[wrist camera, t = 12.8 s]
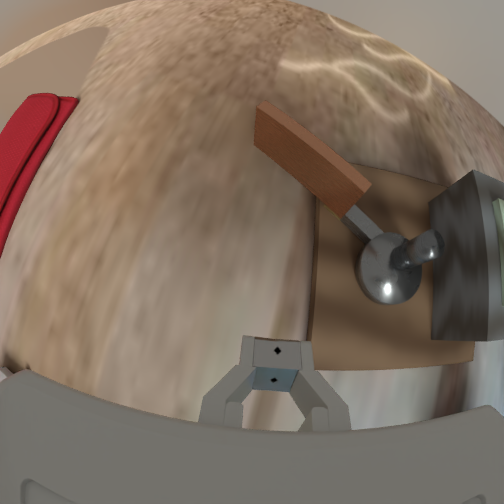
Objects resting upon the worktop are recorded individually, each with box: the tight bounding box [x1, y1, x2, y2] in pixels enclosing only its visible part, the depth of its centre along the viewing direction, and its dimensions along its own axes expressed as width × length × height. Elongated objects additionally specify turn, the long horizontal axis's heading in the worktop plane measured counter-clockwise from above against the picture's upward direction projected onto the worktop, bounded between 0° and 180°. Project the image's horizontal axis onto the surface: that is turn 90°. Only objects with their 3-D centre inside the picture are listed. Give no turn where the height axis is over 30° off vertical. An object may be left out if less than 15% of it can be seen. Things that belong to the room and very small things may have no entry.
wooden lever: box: [254, 100, 445, 305], centre depth 24 cm, size 7×22×8 cm, turn 46°
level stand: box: [307, 163, 504, 370], centre depth 22 cm, size 22×22×14 cm
